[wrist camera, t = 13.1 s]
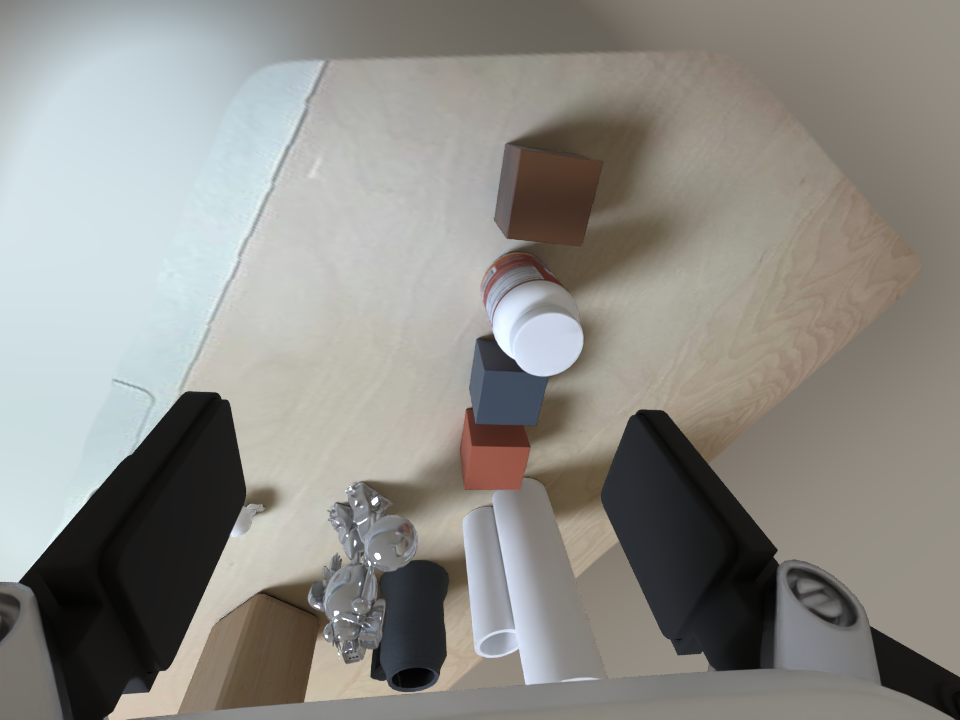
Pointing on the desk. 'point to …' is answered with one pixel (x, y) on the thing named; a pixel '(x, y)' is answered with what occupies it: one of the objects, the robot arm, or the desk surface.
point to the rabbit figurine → (245, 519)
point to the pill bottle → (531, 314)
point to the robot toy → (361, 570)
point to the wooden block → (254, 658)
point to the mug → (412, 627)
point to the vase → (527, 589)
